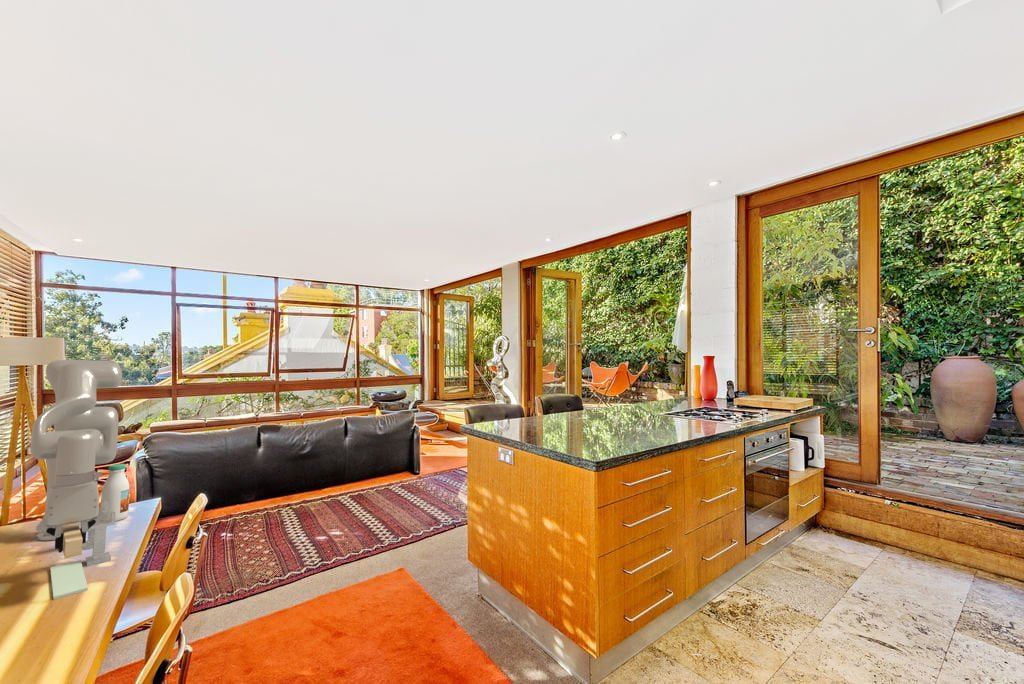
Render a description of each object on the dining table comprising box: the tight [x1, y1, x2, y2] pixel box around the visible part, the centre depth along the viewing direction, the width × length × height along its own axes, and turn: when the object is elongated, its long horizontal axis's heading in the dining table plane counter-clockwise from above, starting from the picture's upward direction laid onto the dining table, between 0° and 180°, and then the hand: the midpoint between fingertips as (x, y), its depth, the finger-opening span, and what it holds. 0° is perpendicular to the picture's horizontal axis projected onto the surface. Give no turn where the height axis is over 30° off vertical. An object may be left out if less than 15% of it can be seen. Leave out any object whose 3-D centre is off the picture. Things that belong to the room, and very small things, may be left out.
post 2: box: [84, 511, 116, 567], centre depth 126 cm, size 5×6×13 cm
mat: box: [49, 559, 89, 600], centre depth 114 cm, size 23×6×1 cm, turn 49°
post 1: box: [82, 500, 109, 551], centre depth 136 cm, size 5×6×13 cm
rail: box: [62, 522, 83, 560], centre depth 115 cm, size 22×3×4 cm, turn 49°
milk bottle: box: [99, 463, 130, 522], centre depth 159 cm, size 8×8×20 cm
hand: (70, 548), depth 115 cm, fingers closed on rail, 3 cm apart
